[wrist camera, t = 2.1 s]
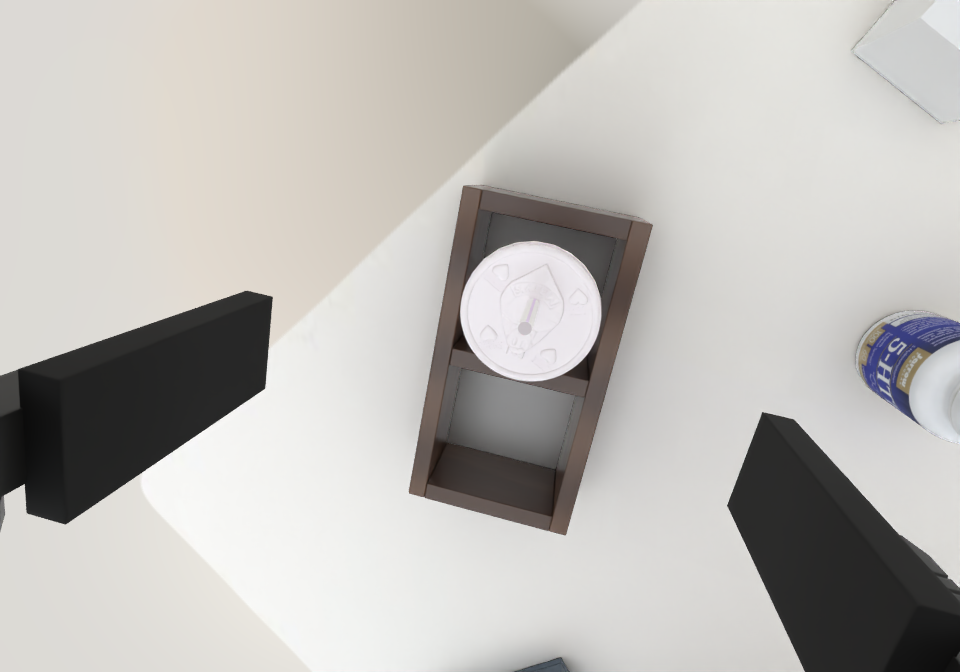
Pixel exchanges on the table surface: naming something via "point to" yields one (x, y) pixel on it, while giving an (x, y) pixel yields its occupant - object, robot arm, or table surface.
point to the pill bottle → (916, 368)
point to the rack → (496, 478)
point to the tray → (548, 667)
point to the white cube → (919, 53)
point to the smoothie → (531, 311)
